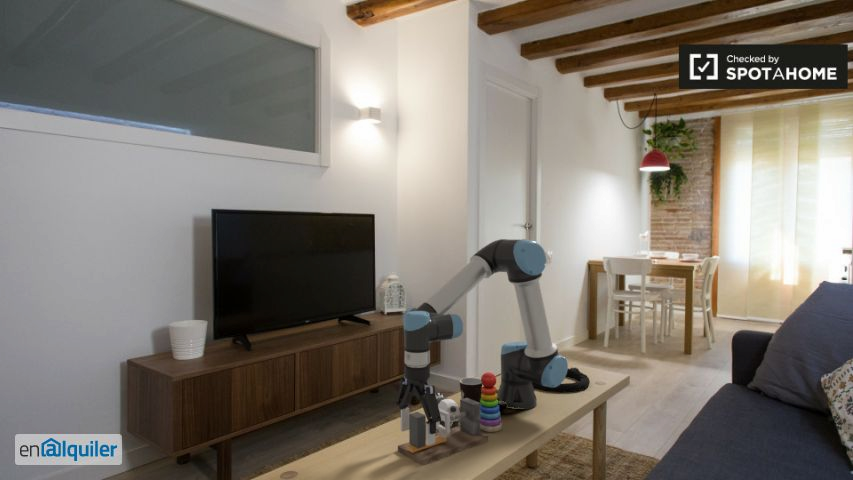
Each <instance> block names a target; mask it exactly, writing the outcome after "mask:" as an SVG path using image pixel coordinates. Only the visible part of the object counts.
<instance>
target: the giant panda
mask: <svg viewBox="0 0 853 480" xmlns="http://www.w3.org/2000/svg"><path fill="white" fill-rule="evenodd" d="M435 395H436V399H437V404H438V408H439V409H442V410H444V411H446V412H448V413H450V415H452V414H456V413H459V412H460V407H459V406H458V404H457V402H456V401H455V400H453V399H451V398H448V397H446V396H445V397H444V396H443V392H442V391H440V392H436V391H435ZM440 416H441V421H440V424H441V423H442V421H443V423H444V425H443V426H444V427H445V416H443V415H441V414H440ZM451 423H452V424H451ZM459 423H460V418H458V419H455V420H453V421H452V420H450V424H451V426H452V428H454V427H457V426H459Z"/></svg>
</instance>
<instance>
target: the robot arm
mask: <svg viewBox="0 0 853 480" xmlns="http://www.w3.org/2000/svg"><path fill="white" fill-rule="evenodd" d="M546 264H547V257H546V252H545V250H544V248H543V246H542V245H541V244H540V243H538V242H537V241H535V240H531V239H530V240H529V239H523V238H522V239H506V238H502V239H501V238H500V239H497V240H494V241H492V242H490V243H488V244H487V245H485V246H484V247H482V248H481V249H479V250H478V251H477V252H476V253H474V254H473V255H472V256H471V257H470V258H469V262H468V263H467V264H466V265H464V267H463V268H461V269H460V270H459V271H458V272H457V273H456V274H455V275H453V276H452V277H451V278H450V279H449V280H448V281H446V283H444V284H443V285H442V286H441V287H440V288H439V289H437V291H435V292H434V293H433V294H432V295H430V297H428V298H427V299H426V300H425V301H424V302H422V304H420V305H419V306H418V307H417V308H416V307H414V308H413V307H412V308H408V309H406V311H404V313H403V315H402V325H403V337H404V338H403V341H404V344H403V345H404V364H405V365H404V367H403V368H404V370H403V371H404V374H403V375H404V376H401V377H400V385H399V388H398V391H397V396H396V399H395V405H396V406H398V408H399V411H400V412H399V413H400V415H399V416H400V431H401V432H405V431H406V432H407V431H408V430H409V414H410V408H409V407H410V403H411V401H412V400H413V397H415V398H417V400H418V401H419V402H420V404H421V407H422V409H423V411H424V415H425V416H426V419H427V421H426V445H427V446H429V445H432V444H434V443H435V434H436V433H437V429H436V422H439V421H441V422H442V420H441V416H440V412H439V408H438V404H437V399H436V395H435V394H436V387H435V385H429V384H428V379H429V378H430V377H431V365H430V363H431V343H434V342H442V341H447V340H453V339H456V338H460V337H461V335H462V334H463V331H464V323H463V320H462V318H461V317H460V316H459V315H458V314H456V313H448V311H450V310H451V309H452V308H453V307H454V306H455V305H456V304H458V303H459V302H460V300H462V299H464V297H465V296H466V295H467V294H469V293H470V292H471V291H472V290H473V289H475V287H476V286H477V285H478V284H480V283H481V282H482V281H483V280H484V279H489V278H490V277H491V276H493V275H494V274H496V273H506V274H507V280H508V282H509V283H510V284H512V285H514V291H515V295H516V300H517V304H518V309H519V314H520V319H521V323H522V327H523V332H524V336H525V341H514V342H513V341H511V342H507V343H504V344H502V346H501V349H500V378H501V379H500V385H499V387H498V391H497V393H496V394H497V396H498V398H499V399H501V400H502V401H504V402H506V403H507V405H508V407H514V408H518V407H519V408H524V410H530V409H533V408H535V407H536V406H537V405H538V401H537V396H536V393H535V390H534V389H535V388H534V387H533V386H532V382H534V383H537V384H541V385H543V386H548V387H557V386H559V385H560V384H563V381H564V380H565V378H566V377H567V376H566V374H567V370H568V368H569V366H568V360H567V358H566V357H564V355H560V354H559V349H558V346H557V344H556V343H554V342H553V341H552V337H551V333H550V328H549V323H548V320H547V313H546V309H545V305H544V299H543V295H542V290H541V284H540V279H541V278H542V276H543V272H544V270H545V268H546ZM446 313H447V314H446Z"/></svg>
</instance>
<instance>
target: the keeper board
mask: <svg viewBox="0 0 853 480" xmlns="http://www.w3.org/2000/svg"><path fill="white" fill-rule="evenodd" d="M459 403H460V407H459V411H460V412H459V413H456V414H452V415H450V420H452V421H453V420H455V419H458V418H460V419H459V423H460V424H459V425H458V426H457V427H450V433H448V434H446V438H447V441H445V442H443V443H440V444H437V445H434V446H431V447H428V448H425V449H422V450H419V451H416V452H413V453H412V452H410V451H409V450H407V449H406V446H407V445H410V444H409V441H408V442H405V443H401V444H398V445H397V451H398V452H399V453H401V454H403V455H404V456H406V457H408V458H409V459H411V460H412V461H414V462H415V463H417V464H419V465H421V466H424V465H427V464H429V463H432V462H434V461H437V460H439V459H444V458H445V457H449V456H451V455H454V454H456V453H460V452H462V451H465V450H467V449H468V450H469V449H471V448H473V447H476V446H479V445H481V444H484V443H486V442H488V441H489V438H488V436H487V435H485V434H483V433H481V429H480V405H481V403H479V402H477V401H474V400H471V399H469V398H465V399H460V402H459ZM438 435H439V432H436V433H435V436H438Z"/></svg>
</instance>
